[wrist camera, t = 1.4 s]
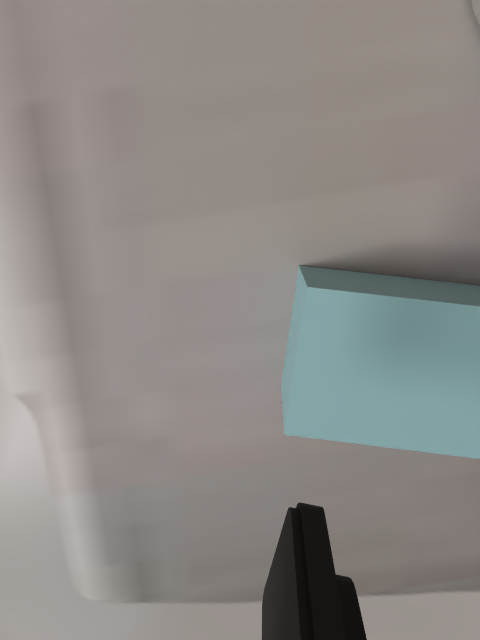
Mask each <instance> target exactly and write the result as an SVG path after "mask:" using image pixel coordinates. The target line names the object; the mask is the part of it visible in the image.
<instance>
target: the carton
mask: <svg viewBox="0 0 480 640" xmlns="http://www.w3.org/2000/svg"><path fill="white" fill-rule="evenodd" d="M281 395H282V410H283V425H284V435H292V436H300V437H308V438H316V439H324V440H332V441H340V442H348V443H356V444H364V445H372V446H380V447H388V448H396V449H404V450H412V451H420V452H429V453H437V454H445V455H453V456H461V457H469V458H477V459H480V286H479V285H470V284H461V283H452V282H443V281H434V280H425V279H416V278H407V277H398V276H390V275H381V274H372V273H363V272H354V271H345V270H336V269H327V268H318V267H309V266H300V265H299V267H298V274H297V281H296V287H295V294H294V301H293V308H292V314H291V321H290V328H289V335H288V341H287V348H286V355H285V362H284V368H283V375H282V382H281Z"/></svg>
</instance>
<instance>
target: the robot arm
mask: <svg viewBox="0 0 480 640" xmlns="http://www.w3.org/2000/svg"><path fill="white" fill-rule="evenodd" d="M471 2H472V7H473V11H474V14H475V16H476V19H477V21H478V24H479V26H480V0H471ZM262 640H367V639H366V634H365V630H364V625H363V621H362V617H361V612H360V607H359V603H358V598H357V594H356V589H355V586H354V583H353V581H352V580H351V578H349V577H345V576H340V575H335V569H334V563H333V558H332V552H331V546H330V541H329V535H328V530H327V524H326V518H325V513H324V509H323V508H322V507H319V506H314V505H309V504H304V503H298V504H297V507H296V508H291V507H289V508H288V511H287V514H286V517H285V521H284V524H283V528H282V531H281V534H280V538H279V541H278V545H277V548H276V551H275V555H274V558H273V562H272V565H271V568H270V572H269V575H268V579H267V582H266V585H265V589H264V594H263V603H262Z"/></svg>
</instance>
